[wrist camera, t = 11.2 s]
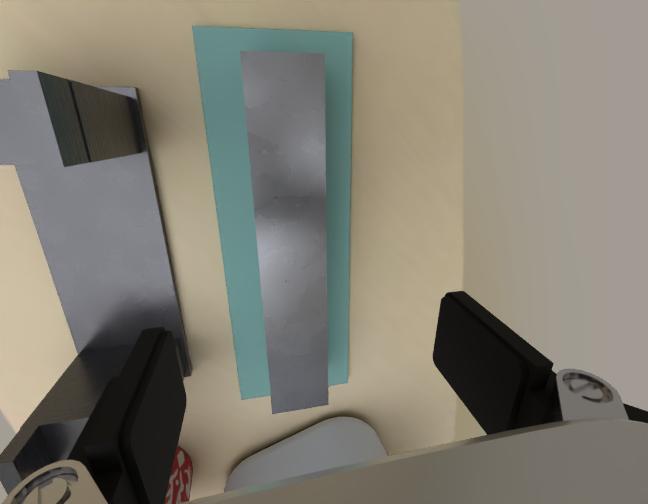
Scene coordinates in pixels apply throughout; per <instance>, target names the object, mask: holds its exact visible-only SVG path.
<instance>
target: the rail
mask: <svg viewBox="0 0 648 504" xmlns="http://www.w3.org/2000/svg"><path fill="white" fill-rule="evenodd" d="M240 59H241V70H242V81H243V92H244V103H245V115H246V126H247V137H248V148H249V159H250V170H251V181H252V193H253V204H254V215H255V226H256V237H257V248H258V259H259V271H260V282H261V293H262V304H263V315H264V326H265V338H266V349H267V360H268V371H269V382H270V393H271V404H272V414H276V413H282V412H288V411H294V410H300V409H306V408H312V407H317V406H323V405H328V322H327V230H326V138H325V53H295V52H261V51H240Z"/></svg>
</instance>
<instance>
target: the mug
mask: <svg viewBox="0 0 648 504" xmlns="http://www.w3.org/2000/svg"><path fill="white" fill-rule="evenodd" d="M192 474H193V469H192V462H191V460H190V458H189V457H188V456H187V454H186V453H185V452H184V451H182V450H181V449H179V448H178V447H177V449H176V454H175V458H174V463H173V467H172V472H171V476H170V481H169V485H168V490H167V494H166V499H165V503H164V504H179V503H183V502H187V501H189V498H190V490H191V482H192Z"/></svg>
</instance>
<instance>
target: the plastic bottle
mask: <svg viewBox="0 0 648 504" xmlns="http://www.w3.org/2000/svg"><path fill="white" fill-rule="evenodd" d="M386 456H388V455H387V453H386V451H385V449H384V447H383V445H382V443H381V441H380V439H379V437H378V435H377V433H376V432H375V431H374V429H373V428H372V427H371V426H369V425H368V424H367V423H365V422H364V421H362V420H359V419H356V418H353V417H335V418H330V419H327V420H324V421H322V422H319V423H317V424H315V425H313V426H311V427H309V428H307V429H305V430H303V431H301V432H299V433H297V434H295V435H293V436H291V437H288V438H286V439H284V440H282V441H280V442H278V443H276V444H274V445H272V446H270V447H268V448H266V449H264V450H262V451H260V452H258V453H256V454H253V455H251V456H250V457H248V458H246V459H245V460H243V461H242V462H241V463H240V464H239V465H238V466H237V467H236V468H235V469H234V470H233V471H232V473H231V474H230V476H229V478H228V480H227V482H226V485H225V488H224V492H229V491H233V490H237V489H241V488H245V487H250V486H254V485H259V484H263V483H268V482H272V481H277V480H281V479H286V478H290V477H295V476H299V475H304V474H308V473H313V472H317V471H322V470H326V469H331V468H335V467H340V466H345V465H349V464H354V463H358V462H363V461H368V460H372V459H377V458H381V457H386Z"/></svg>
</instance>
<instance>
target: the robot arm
mask: <svg viewBox="0 0 648 504" xmlns="http://www.w3.org/2000/svg"><path fill="white" fill-rule="evenodd" d="M433 361H434V364H435V366H436V367H437V368H438V370H439V371H440V372H441V374H442V375H443V376H444V378H445V379H446V380H447V382H448V383H449V384H450V386H451V387H452V388H453V390H454V391H455V392H456V394H457V395H458V396H459V398H460V399H461V400H462V401H463V403H464V404H465V406H466V407H467V408H468V410H469V411H470V412H471V414H472V415H473V416H474V418H475V419H476V420H477V422H478V423H479V424H480V426H481V427H482V428H483V430H484V431H485V432H486V433H487V435H485V436H480V437H476V438H471V439H466V440H461V441H457V442H452V443H447V444H442V445H437V446H433V447H428V448H423V449H419V450H414V451H409V452H405V453H400V454H395V455H391V456H386V457H381V458H377V459H372V460H368V461H363V462H358V463H354V464H349V465H345V466H340V467H335V468H331V469H326V470H322V471H317V472H313V473H308V474H304V475H299V476H295V477H290V478H286V479H281V480H277V481H272V482H268V483H263V484H259V485H254V486H250V487H245V488H241V489H237V490H233V491H229V492H224V493H220V494H216V495H212V496H208V497H204V498H199V499H195V500H191V501H187V502H183V503H179V504H648V412H647V411H645V410H641V409H639V408H636V407H633V406H629V405H627V404H623V403H622V400H621V398H620V396H619V394H618V392H617V391H616V390H615V389H614V388H613V387H612V386H611V385H610V384H609V383H607V382H606V381H604V380H603V379H601V378H599V377H597V376H595V375H593V374H591V373H588V372H585V371H582V370H577V369H563V370H561V371H559V372H558V373H557V374H556V373H554V372H553V371H552V367H553V363H552V362H551V361H550V360H549V359H547V358H546V357H545V356H544V355H542V354H541V353H540V352H539V351H537V350H536V349H535V348H534V347H532V346H531V345H530V344H529V343H527V342H526V341H525V340H524V339H522V338H521V337H520V336H519V335H518V334H516V333H515V332H514V331H512V330H511V329H510V328H509V327H508V326H506V325H505V324H504V323H503V322H501V321H500V320H499V319H497V318H496V317H495V316H494V315H493V314H491V313H490V312H489V311H488V310H486V309H485V308H484V307H483V306H481V305H480V304H479V303H478V302H477V301H475V300H474V299H473V298H472V297H470V296H469V295H468V294H467V293H465V292H464V291H457V292H449V293H446V295H445V297H443V298H442V299H441V304H440V311H439V317H438V324H437V331H436V338H435V344H434V351H433ZM185 409H186V393H185V388H184V384H183V379H182V375H181V370H180V366H179V361H178V357H177V352H176V348H175V343H174V339H173V334H172V332H171V331H166V330H165V328H164V327H156V328H148V329H143V330H142V332H141V334H140V336H139V338H138V340H137V342H136V344H135V345H134V347H133V349H132V351H131V353H130V355H129V357H128V359H127V361H126V363H125V365H124V367H123V369H122V371H121V373H120V375H119V376H115V377H113V378H111V379H110V381H109V382H108V384H107V386H106V387H105V389H104V391H103V393H102V395H101V397H100V399H99V400H98V402H97V404H96V406H95V408H94V410H93V412H92V413H91V415H90V417H89V419H88V421H87V423H86V425H85V426H84V428H83V430H82V432H81V434H80V436H79V438H78V439H77V441H76V443H75V445H74V447H73V449H72V451H71V452H70V454H69V456H68V458H67V460H63V461H58V462H55V463H52V464H49V465H47V466H45V467H43V468H41V469H39V470H37V471H36V472H34V473H32V474H31V475H30V476H28V477H27V478H26V479H24V480H23V481H22V482H20V483H19V484H18V485H17V486H16V487H15V488H14V489H13V490H12V491H11V492H10V493H9V495H8V496H7V498H6V499H5V500H4V502H3V503H2V504H164V503H165V499H166V494H167V490H168V485H169V481H170V476H171V472H172V467H173V463H174V458H175V454H176V449H177V445H178V440H179V436H180V431H181V427H182V422H183V418H184V413H185Z"/></svg>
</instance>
